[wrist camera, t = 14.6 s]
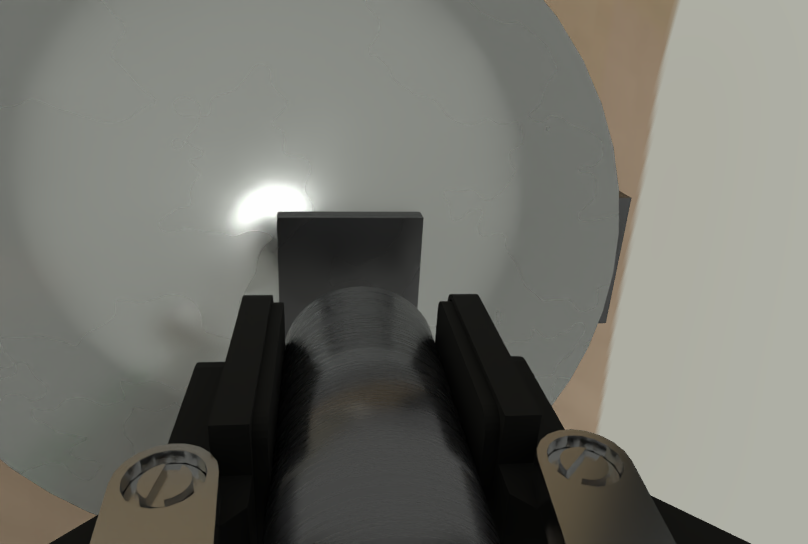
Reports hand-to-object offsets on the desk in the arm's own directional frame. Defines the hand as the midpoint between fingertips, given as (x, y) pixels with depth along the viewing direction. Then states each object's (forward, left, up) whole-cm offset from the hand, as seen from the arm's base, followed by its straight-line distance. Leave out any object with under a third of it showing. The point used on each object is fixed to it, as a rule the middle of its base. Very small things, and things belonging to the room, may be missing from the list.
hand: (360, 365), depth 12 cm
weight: (0, 0, 0) cm, 0 cm away
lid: (-2, 0, -6) cm, 7 cm away
